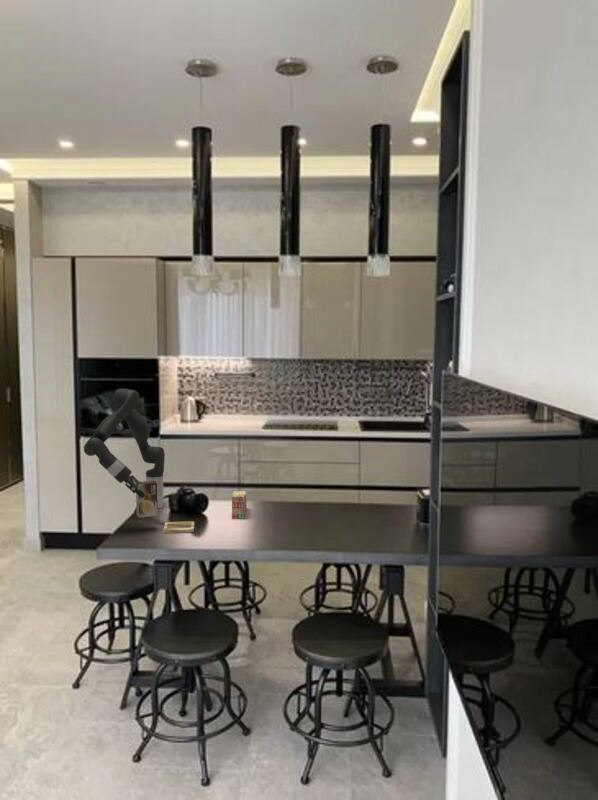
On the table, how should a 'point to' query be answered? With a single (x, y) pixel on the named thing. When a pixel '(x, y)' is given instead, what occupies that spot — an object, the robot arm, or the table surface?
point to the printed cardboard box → (239, 504)
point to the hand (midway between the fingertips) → (144, 494)
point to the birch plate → (178, 527)
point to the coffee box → (147, 499)
